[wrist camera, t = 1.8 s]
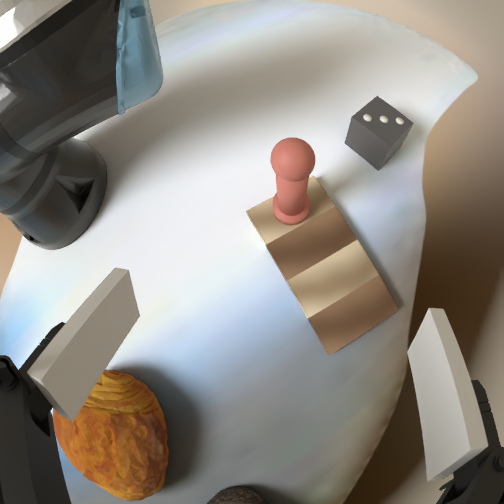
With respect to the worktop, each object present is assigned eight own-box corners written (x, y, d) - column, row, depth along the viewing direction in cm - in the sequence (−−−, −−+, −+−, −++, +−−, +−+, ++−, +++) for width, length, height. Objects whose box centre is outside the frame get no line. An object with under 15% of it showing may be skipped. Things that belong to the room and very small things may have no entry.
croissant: (190, 386, 29) (166, 389, 22) (171, 504, 24) (147, 533, 16) (82, 352, 31) (41, 344, 24) (68, 461, 25) (29, 472, 18)
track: (247, 214, 31) (246, 211, 30) (313, 179, 31) (314, 175, 30) (327, 354, 27) (329, 355, 26) (395, 310, 27) (398, 309, 26)
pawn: (266, 202, 30) (256, 139, 20) (297, 186, 30) (301, 119, 20) (284, 231, 29) (284, 179, 19) (316, 214, 29) (330, 155, 19)
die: (344, 143, 32) (351, 116, 27) (368, 122, 33) (377, 95, 28) (378, 171, 31) (390, 146, 26) (400, 147, 31) (413, 122, 26)
